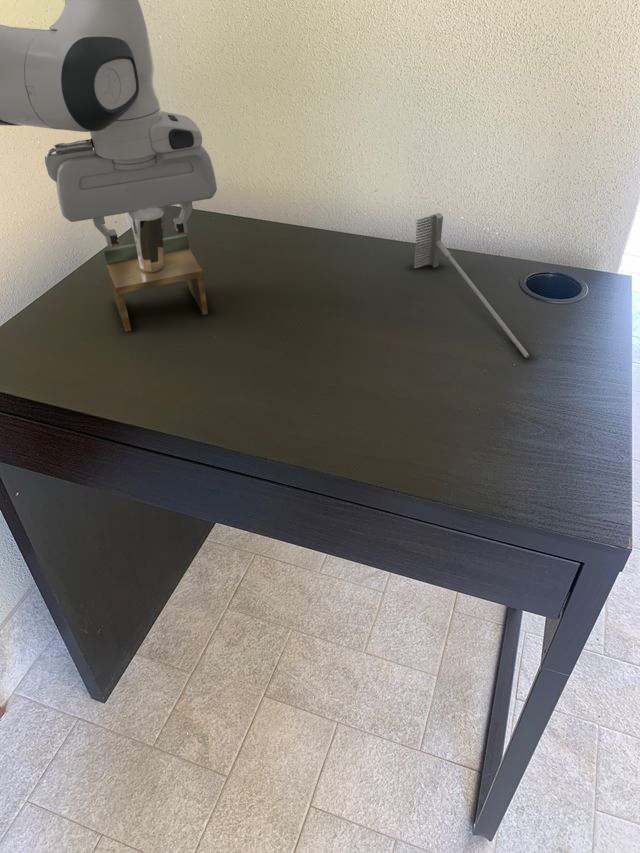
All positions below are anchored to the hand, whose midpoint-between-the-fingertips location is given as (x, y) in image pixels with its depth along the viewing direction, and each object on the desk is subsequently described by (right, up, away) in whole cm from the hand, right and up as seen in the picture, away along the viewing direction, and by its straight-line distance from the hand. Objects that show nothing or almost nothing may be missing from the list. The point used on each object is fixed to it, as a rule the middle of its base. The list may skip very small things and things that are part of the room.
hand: (147, 238), depth 94 cm
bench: (0, -8, +7) cm, 11 cm away
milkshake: (0, -3, +3) cm, 4 cm away
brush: (+45, -8, +7) cm, 47 cm away
